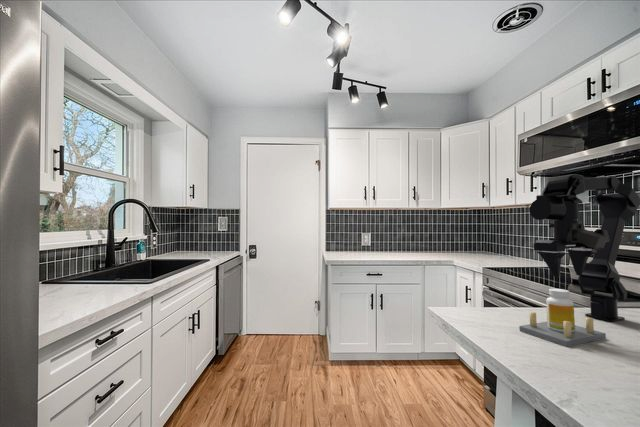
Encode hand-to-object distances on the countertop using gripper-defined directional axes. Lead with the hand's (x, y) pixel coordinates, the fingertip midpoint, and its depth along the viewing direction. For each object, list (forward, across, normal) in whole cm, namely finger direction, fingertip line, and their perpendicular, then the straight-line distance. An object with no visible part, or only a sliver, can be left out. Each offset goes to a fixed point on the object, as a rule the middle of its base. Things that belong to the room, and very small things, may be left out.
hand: (568, 276), depth 83 cm
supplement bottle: (+12, -11, -4) cm, 17 cm away
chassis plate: (+13, -11, -4) cm, 18 cm away
